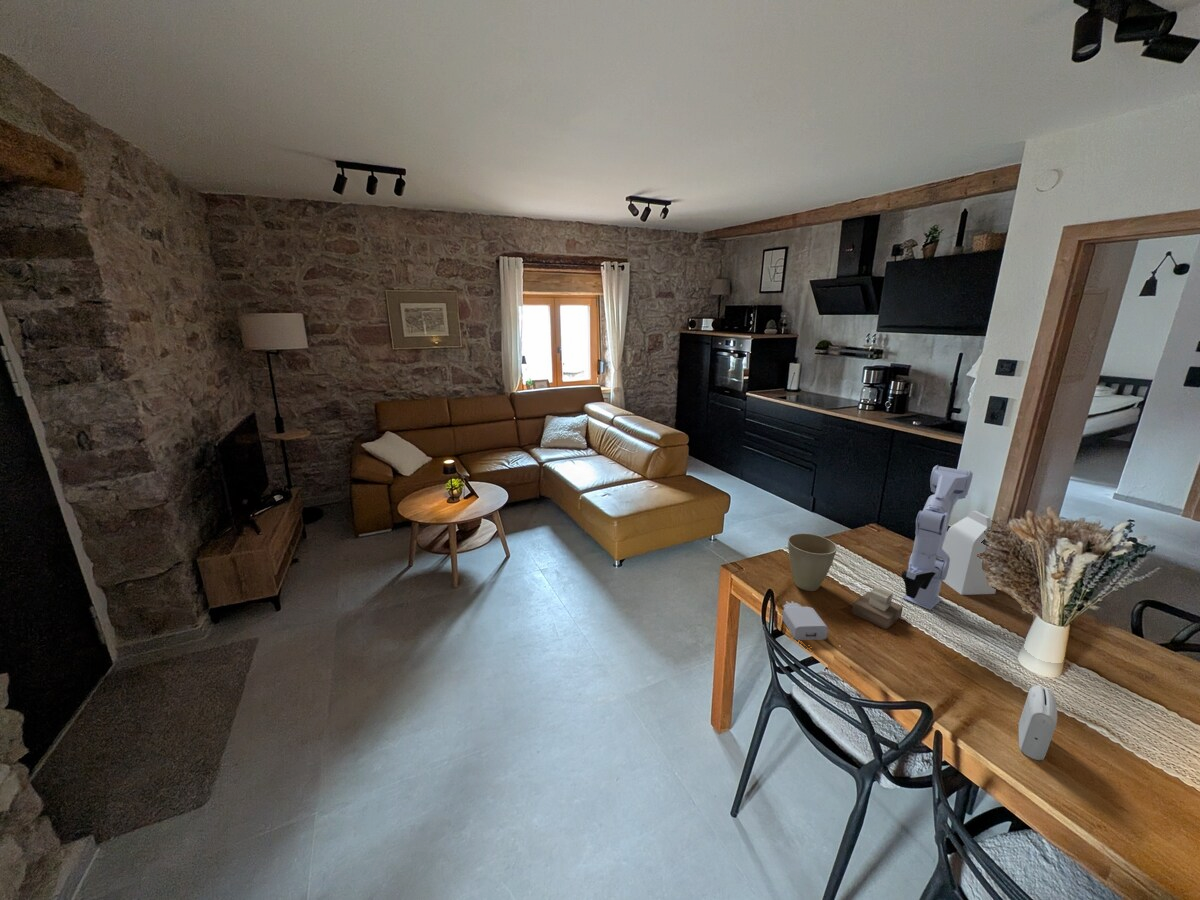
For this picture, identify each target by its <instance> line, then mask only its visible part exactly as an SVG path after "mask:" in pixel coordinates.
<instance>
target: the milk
mask: <svg viewBox="0 0 1200 900" xmlns="http://www.w3.org/2000/svg"><path fill="white" fill-rule="evenodd" d="M991 526H992V521H991V517H989V516H987V515H986V514H983V513H981V512H980V511H978V510H975V509H974V510H973V509H972V510H971V511H970V512H969V513H968V514H967V516H965V517H964V518H962V519H960V520H959V521H957V522H956V523H954V524H952V525H950V526H949V527H948V528H947V532H946V536H945V539H944V543H943V546H942V549H943V550H944V551H945V552H946V553H947V554H948V555H949V557H950V563H949V569H948V573H947V576H946V579H945V580H943V581H942V582H944V583H945V584H946V585H947V586H948V587H950V588H951V589H953V590H954V591H956V592H957V593H958V594H959V595H961V596H963V595H964V596H965V595H966V596H967V595H971V596H972V595H993V594H996V591H997V588H996V589H994V588H992V587H989V586H988V585H987V579H986V574H985V572H984V571H983V569H982V561H981V559H980V558H979V557H977V556H976V555H977V554H980V553H983V552H984V551H985V548H986V547H985V545H984V544H983V543H981V542H982V541H983V540H984V539H985V537H986V535H985V534H984V531H987V530H989V529H990V528H991ZM938 559H941V558H938ZM941 560H943V559H941Z"/></svg>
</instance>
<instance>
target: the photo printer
mask: <svg viewBox="0 0 1200 900" xmlns="http://www.w3.org/2000/svg"><path fill="white" fill-rule="evenodd" d="M1057 722H1058V706H1057V702H1056V698H1055V695H1054V694H1053V693H1052V691H1051V690H1050V689H1049V688H1048V687H1043V686H1042V685H1039V684H1038V685H1033V686H1031V687H1030V689H1029V691H1028V693H1027V697H1026V700H1025V703H1024V706H1023V709H1022V712H1021V715H1020V718H1019V722H1018V746H1019V751H1021V752H1022V753H1023V754H1024V755H1025V756H1027V757H1028V758H1030V759H1033V760H1036V761H1044V760H1045V757H1046V755H1047V753H1048V749H1049V747H1050V744H1051V742H1052V738H1053V735H1054V732H1055V730H1056V726H1057V724H1058V723H1057Z"/></svg>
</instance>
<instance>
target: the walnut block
mask: <svg viewBox="0 0 1200 900" xmlns="http://www.w3.org/2000/svg"><path fill="white" fill-rule="evenodd" d="M870 593H871V591H867V592H866V593H865V594H863V595H862V596H860V597H859V598H858V599H856V600H855V601H854V602H853V603H852V607H851V608H852V610H851V613H852V614H854V615H856V616H858V617H860V618H861V619H864V620H866V621H868V622H870V623H872V624H875V625H876V626H878V627H880V628H883V629H884V630H888V628H890V627H891V626H892V625H894V624H895V622H897V620H899V619H900V618H901V617H902V613H903V608H904V606H903V605H901V604H898V603H897V602H894V601H893V600H892V601H891V606H890V607H889V608H888V609H886V610H885V611H882V610H880V609H878V608H876V607H873V606H871V605H869V599H870Z"/></svg>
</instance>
